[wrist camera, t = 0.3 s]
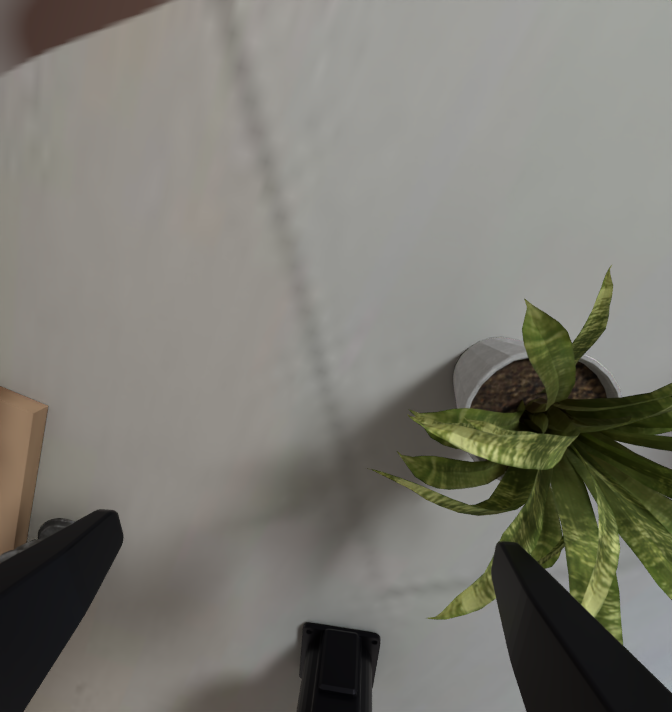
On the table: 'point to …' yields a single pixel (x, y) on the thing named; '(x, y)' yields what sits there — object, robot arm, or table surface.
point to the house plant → (556, 459)
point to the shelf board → (18, 464)
